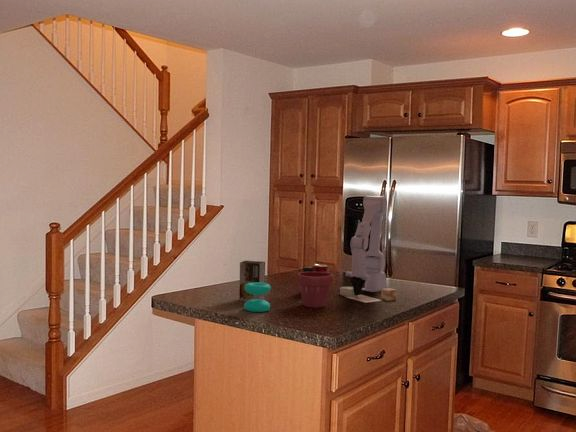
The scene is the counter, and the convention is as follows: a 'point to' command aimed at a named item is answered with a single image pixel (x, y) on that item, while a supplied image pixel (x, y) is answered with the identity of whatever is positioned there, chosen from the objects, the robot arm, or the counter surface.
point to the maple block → (388, 294)
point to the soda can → (320, 268)
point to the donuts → (257, 304)
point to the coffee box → (251, 278)
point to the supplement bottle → (307, 269)
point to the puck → (347, 291)
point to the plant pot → (314, 288)
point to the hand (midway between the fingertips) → (357, 294)
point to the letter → (364, 298)
